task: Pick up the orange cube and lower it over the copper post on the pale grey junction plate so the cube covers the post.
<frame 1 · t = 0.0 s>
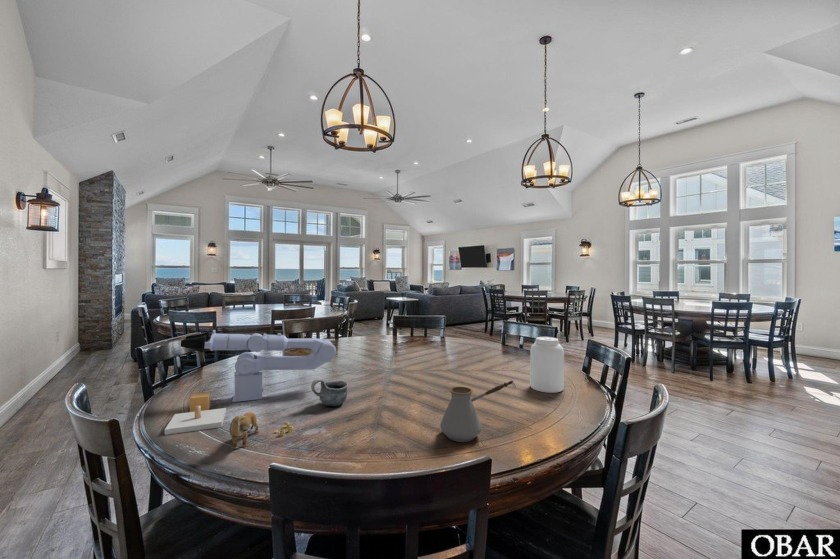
hand: (183, 341, 125), 22 cm above the table, tool horizontal, fingers open, 7 cm apart
coffee pot: (477, 435, 103), on the table
junction plate: (197, 422, 110), on the table
orange cube: (200, 410, 120), on the table
mug: (330, 406, 125), on the table
lion figurine: (245, 443, 98), on the table
dice set: (284, 434, 104), on the table
white jar: (546, 388, 145), on the table
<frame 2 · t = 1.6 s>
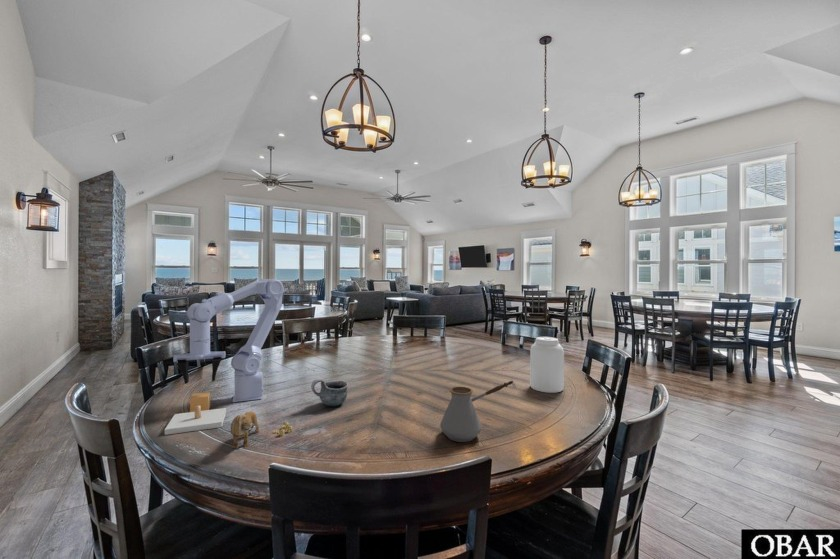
hand: (200, 381, 120), 9 cm above the table, tool pointing down, fingers open, 7 cm apart
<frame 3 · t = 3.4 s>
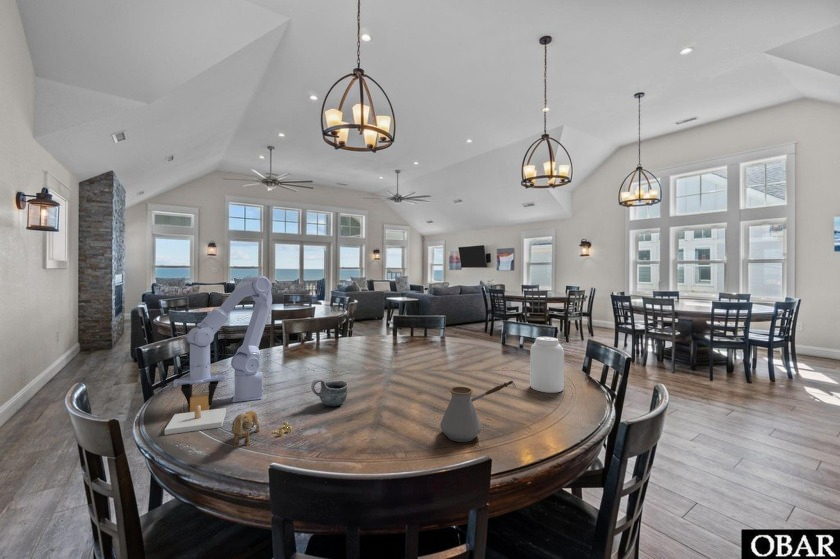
hand: (200, 405, 120), 1 cm above the table, tool pointing down, fingers closed on orange cube, 5 cm apart
orange cube: (200, 410, 120), on the table, touching gripper
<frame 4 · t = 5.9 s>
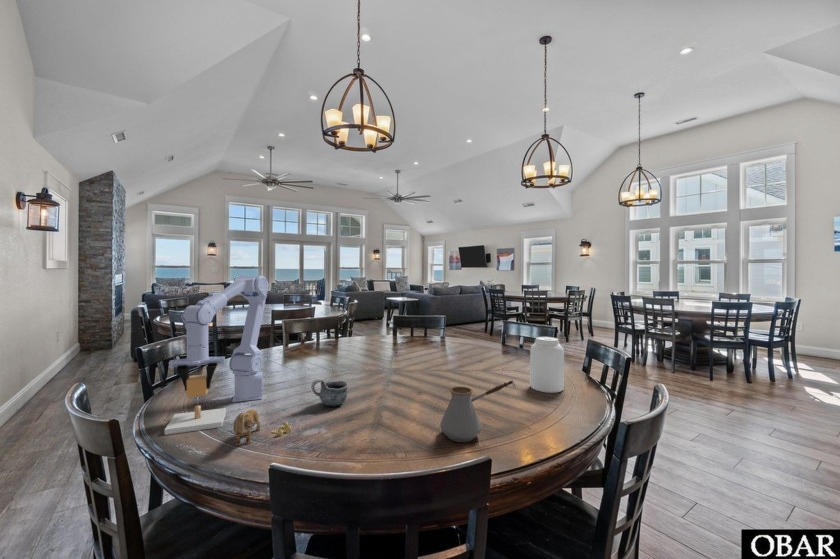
hand: (197, 389, 112), 9 cm above the table, tool pointing down, fingers closed on orange cube, 5 cm apart
orange cube: (197, 393, 112), point 8 cm above the table, touching gripper
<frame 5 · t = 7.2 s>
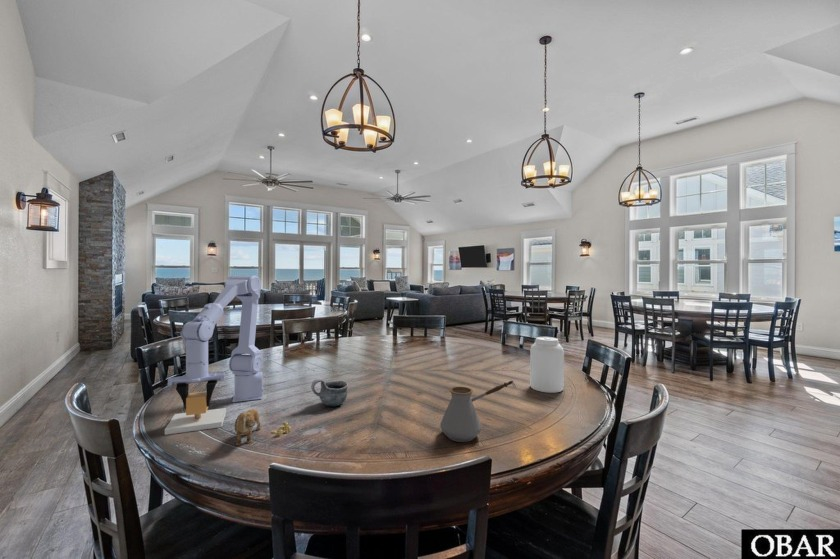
hand: (197, 406, 110), 5 cm above the table, tool pointing down, fingers closed on orange cube, 5 cm apart
orange cube: (197, 411, 110), point 4 cm above the table, touching gripper
when the fingers open (4 cm above the table, at t = 8.4 s): orange cube stays where it is, resting on junction plate.
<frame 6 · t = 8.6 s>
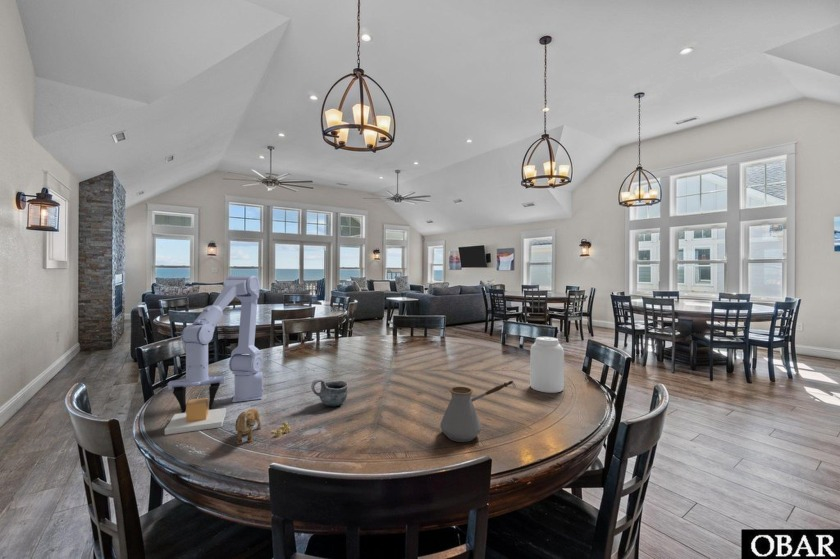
hand: (197, 409, 110), 4 cm above the table, tool pointing down, fingers open, 6 cm apart
orange cube: (197, 417, 110), point 1 cm above the table, touching junction plate
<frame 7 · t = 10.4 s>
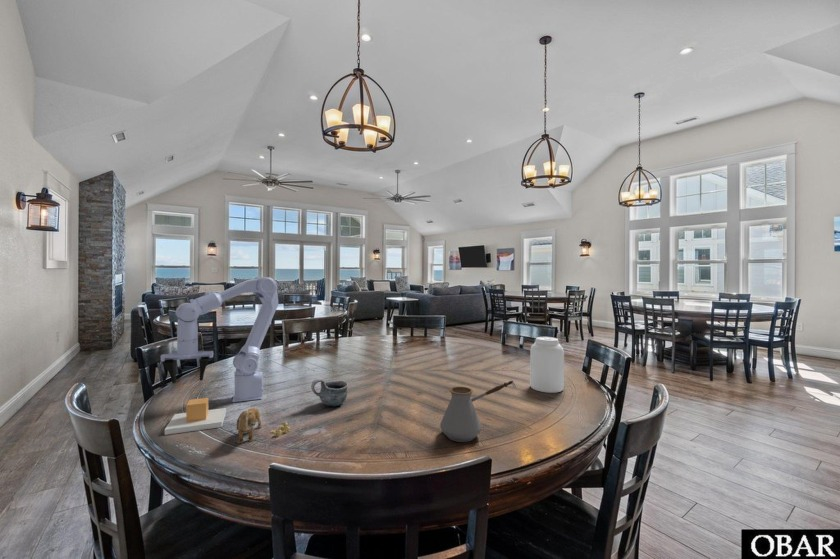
hand: (187, 381, 121), 9 cm above the table, tool pointing down, fingers open, 7 cm apart
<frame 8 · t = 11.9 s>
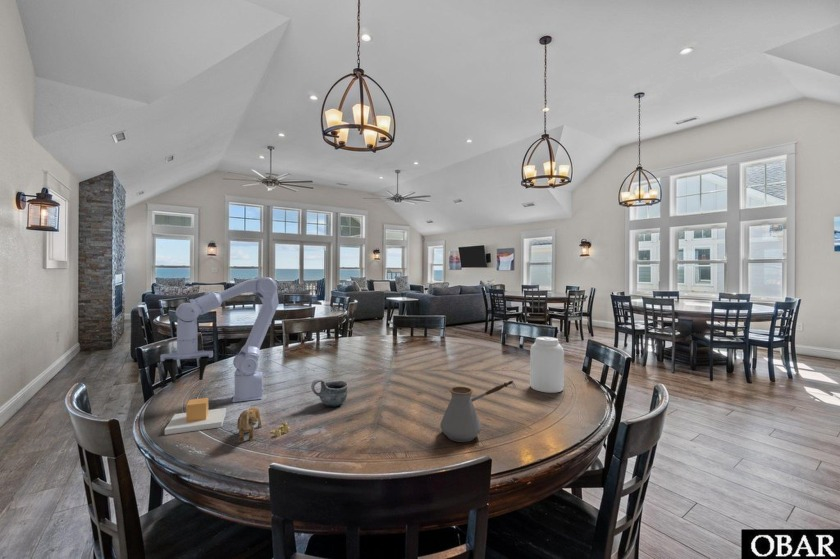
hand: (187, 380, 121), 9 cm above the table, tool pointing down, fingers open, 7 cm apart
at the end: orange cube 0.0 cm off-centre on the junction plate, point 1.5 cm above the junction plate's base; orange cube tilted 0°; the gripper is holding nothing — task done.
